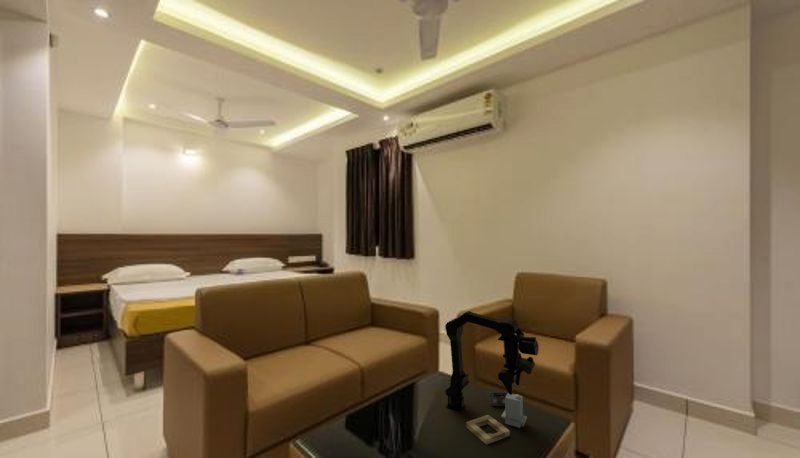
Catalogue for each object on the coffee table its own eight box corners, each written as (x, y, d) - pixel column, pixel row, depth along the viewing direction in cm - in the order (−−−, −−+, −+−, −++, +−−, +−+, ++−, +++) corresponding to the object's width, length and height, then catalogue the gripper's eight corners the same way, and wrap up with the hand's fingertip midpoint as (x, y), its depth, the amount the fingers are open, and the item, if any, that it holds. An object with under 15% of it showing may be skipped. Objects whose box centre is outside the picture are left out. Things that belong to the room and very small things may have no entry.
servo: (501, 422, 146) (501, 394, 145) (504, 417, 150) (504, 389, 149) (524, 429, 141) (524, 399, 140) (526, 423, 145) (526, 394, 144)
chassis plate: (466, 427, 143) (466, 422, 143) (488, 419, 148) (488, 414, 148) (486, 444, 132) (486, 439, 132) (509, 435, 137) (509, 430, 137)
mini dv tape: (508, 404, 159) (508, 391, 159) (508, 406, 158) (508, 393, 158) (489, 403, 160) (489, 391, 160) (490, 405, 159) (490, 392, 159)
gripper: (524, 362, 130) (528, 404, 130) (537, 346, 146) (540, 384, 146) (495, 358, 137) (499, 398, 137) (511, 343, 152) (513, 379, 152)
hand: (514, 389), depth 143 cm, fingers open, 9 cm apart
